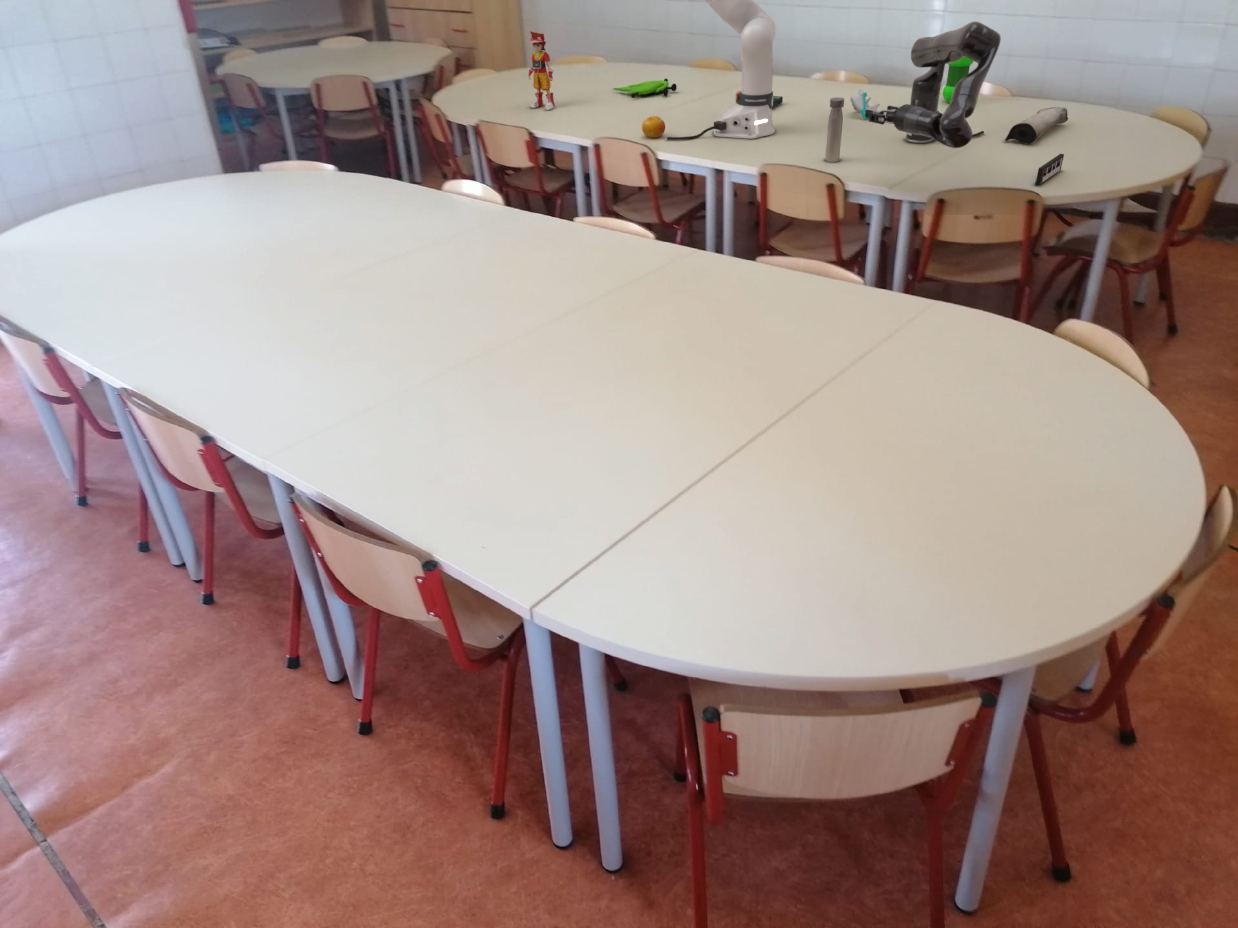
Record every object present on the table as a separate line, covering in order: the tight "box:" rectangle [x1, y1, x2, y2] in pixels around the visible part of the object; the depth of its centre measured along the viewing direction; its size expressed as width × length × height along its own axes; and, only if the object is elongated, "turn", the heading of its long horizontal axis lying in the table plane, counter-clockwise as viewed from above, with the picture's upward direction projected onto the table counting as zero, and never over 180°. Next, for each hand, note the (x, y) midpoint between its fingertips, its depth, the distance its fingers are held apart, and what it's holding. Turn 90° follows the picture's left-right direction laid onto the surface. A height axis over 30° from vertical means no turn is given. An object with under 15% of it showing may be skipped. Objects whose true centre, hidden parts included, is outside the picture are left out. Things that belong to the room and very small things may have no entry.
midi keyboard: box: [1035, 153, 1065, 186], centre depth 273 cm, size 18×1×5 cm, turn 138°
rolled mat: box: [1004, 106, 1069, 145], centre depth 312 cm, size 30×9×10 cm
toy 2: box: [612, 78, 677, 99], centre depth 396 cm, size 28×5×30 cm
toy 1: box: [527, 31, 556, 111], centre depth 374 cm, size 12×9×30 cm
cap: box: [829, 96, 845, 109], centre depth 291 cm, size 4×4×2 cm
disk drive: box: [772, 95, 784, 109], centre depth 364 cm, size 10×3×15 cm
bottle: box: [824, 107, 844, 163], centre depth 296 cm, size 5×5×19 cm
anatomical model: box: [850, 88, 881, 120], centre depth 343 cm, size 15×10×10 cm
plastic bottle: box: [942, 56, 974, 104], centre depth 348 cm, size 10×10×25 cm
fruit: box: [641, 115, 666, 138], centre depth 334 cm, size 8×8×8 cm
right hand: (877, 111), depth 275 cm, fingers open, 8 cm apart
